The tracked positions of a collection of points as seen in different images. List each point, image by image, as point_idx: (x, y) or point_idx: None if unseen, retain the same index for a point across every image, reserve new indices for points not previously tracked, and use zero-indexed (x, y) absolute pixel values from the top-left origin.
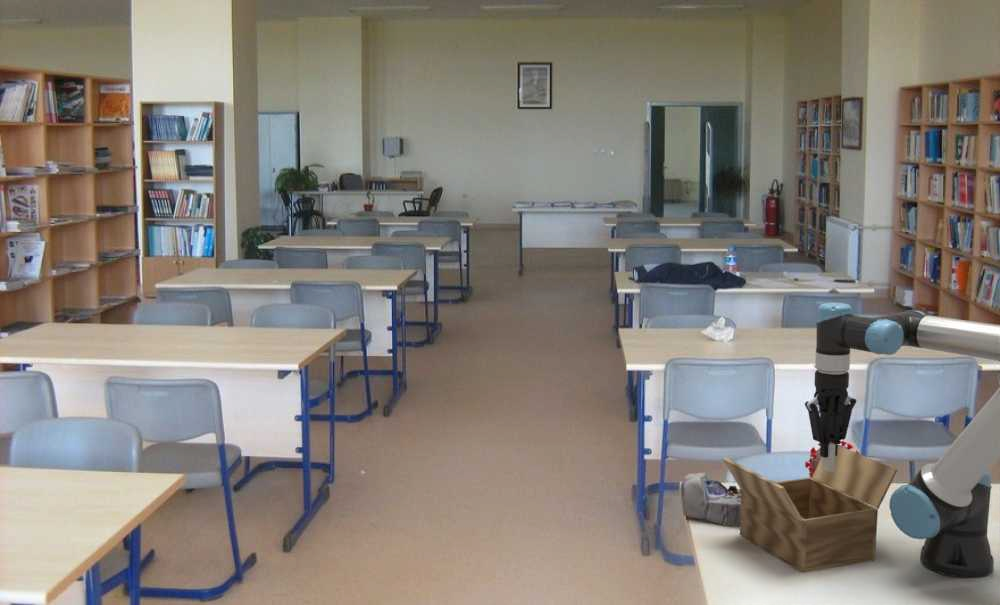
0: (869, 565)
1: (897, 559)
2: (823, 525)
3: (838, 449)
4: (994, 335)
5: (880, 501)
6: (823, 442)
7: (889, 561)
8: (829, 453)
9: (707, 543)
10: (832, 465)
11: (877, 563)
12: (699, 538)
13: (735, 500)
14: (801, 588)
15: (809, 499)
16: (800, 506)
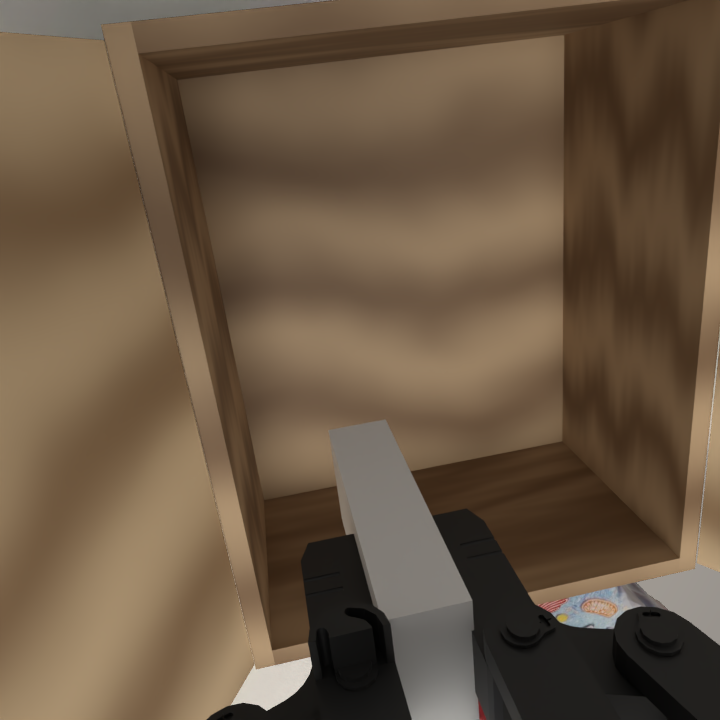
0: (220, 4)
1: (32, 34)
2: None
3: None
4: None
5: (52, 39)
6: (571, 636)
7: (89, 21)
8: (434, 528)
9: (713, 393)
10: (362, 454)
11: (166, 16)
12: (709, 440)
13: (562, 610)
14: None
15: (267, 565)
16: (314, 538)
